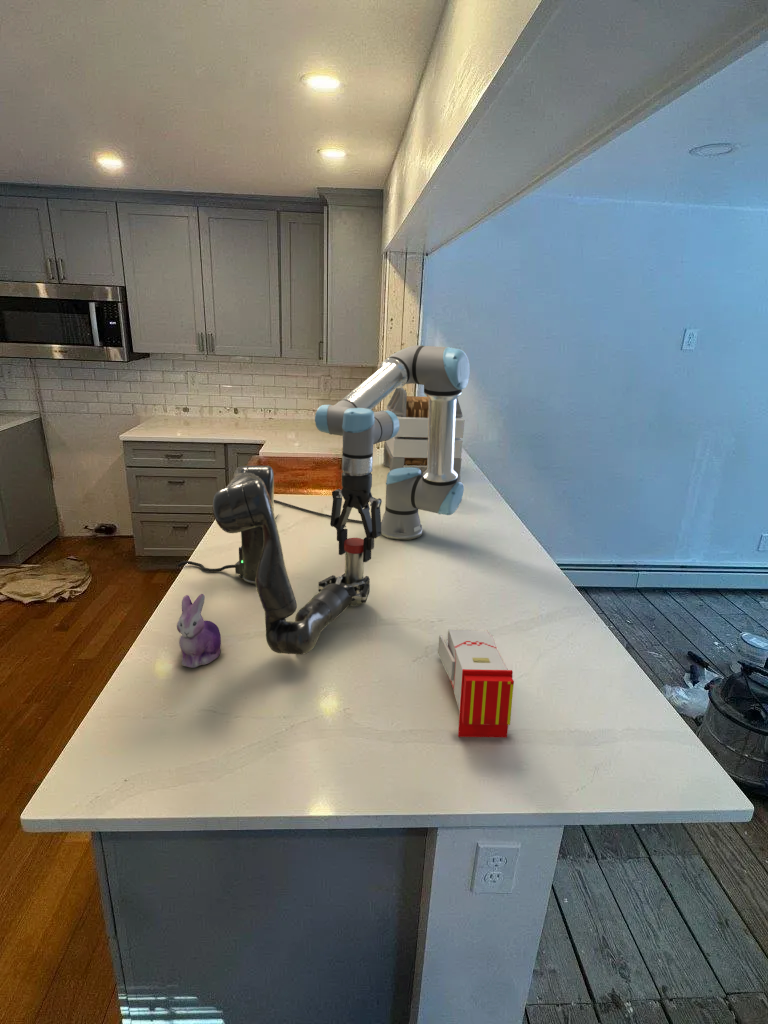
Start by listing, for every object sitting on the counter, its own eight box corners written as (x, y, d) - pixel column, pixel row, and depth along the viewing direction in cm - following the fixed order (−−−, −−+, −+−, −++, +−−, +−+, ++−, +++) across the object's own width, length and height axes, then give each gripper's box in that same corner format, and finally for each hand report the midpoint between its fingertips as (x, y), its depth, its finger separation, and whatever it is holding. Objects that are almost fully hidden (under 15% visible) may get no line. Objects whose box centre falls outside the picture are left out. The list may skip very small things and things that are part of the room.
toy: (488, 613, 130) (523, 677, 101) (484, 667, 133) (517, 744, 104) (435, 612, 130) (455, 676, 101) (432, 666, 133) (451, 743, 103)
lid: (348, 555, 144) (349, 547, 143) (340, 546, 149) (340, 539, 148) (369, 552, 146) (369, 544, 145) (360, 543, 151) (360, 536, 150)
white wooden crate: (382, 463, 289) (386, 382, 275) (445, 464, 293) (451, 384, 279) (390, 482, 257) (394, 392, 243) (460, 483, 261) (468, 394, 247)
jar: (348, 607, 150) (349, 548, 144) (341, 599, 154) (342, 541, 148) (365, 604, 152) (367, 545, 146) (358, 596, 156) (360, 538, 150)
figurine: (183, 674, 120) (177, 612, 115) (175, 649, 128) (169, 590, 123) (228, 663, 124) (224, 603, 119) (218, 640, 132) (214, 582, 127)
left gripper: (354, 597, 134) (383, 570, 149) (302, 584, 139) (335, 559, 154) (353, 625, 137) (382, 595, 152) (302, 611, 142) (334, 583, 157)
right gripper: (399, 476, 139) (394, 561, 146) (333, 462, 148) (332, 543, 156) (383, 482, 133) (379, 571, 140) (315, 468, 142) (315, 552, 150)
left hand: (358, 577), depth 153 cm, fingers closed on jar, 5 cm apart
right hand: (354, 556), depth 148 cm, fingers open, 7 cm apart
